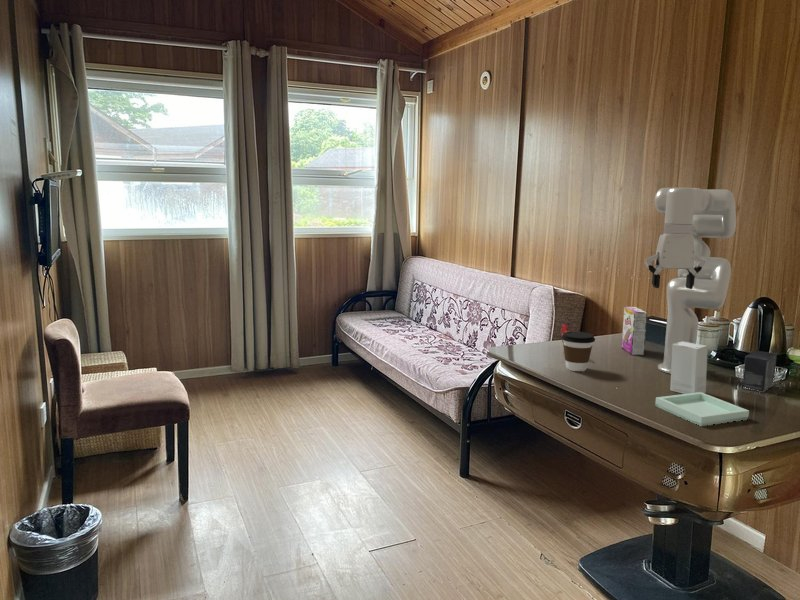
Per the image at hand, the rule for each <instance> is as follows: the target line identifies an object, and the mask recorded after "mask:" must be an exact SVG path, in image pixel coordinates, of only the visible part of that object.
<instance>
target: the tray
mask: <svg viewBox="0 0 800 600" xmlns="http://www.w3.org/2000/svg"><path fill="white" fill-rule="evenodd" d="M654 407H657V408H659V409H660V410H662V411H663V410H664V411H665V412H667V413H669V414H671V415H674V416H676V417H678V418H680V417H681V419H682V420H685V421H687V420H688V422H689V421H690V423H692V424H693V425H696V424H697V426H698V425H699V426H698V427H700V426H701V427H707V425H708V426H713V424H715V425H721V423H722V424H727V422H729V423H733V421H736V422H740V421H741V420H743V421H747V419H748V420H749V415H750V410H748V409H746V408H743V407H741V406H738V405H737V404H733V403H730V402H728V401H725V400H723V399H720V398H717V397H715V396H712V395H709V394H708V393H707V394H706V393H705V394H704V393H702V392H697V393H689V394H682V393H680V394H674V395H667V396H666V395H665V396H657V397H655V404H654Z"/></svg>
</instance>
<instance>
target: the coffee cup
mask: <svg viewBox="0 0 800 600" xmlns="http://www.w3.org/2000/svg"><path fill="white" fill-rule="evenodd" d="M562 339H563V342H564V344H563V342H562V345H563V346H562V348H563V355H564V360H565V367H566V369H567V370H568V369H569V370H568V371H570V370H572V371H571V372H575V371H582V372H585V371H586V370H587V368H588V363H589V362H590V357H591V354H592V349H593V343H595V341H596V338H595V336H594V334H592V333H589V332H584V331H570V332H565V333H563V335H561V340H562Z"/></svg>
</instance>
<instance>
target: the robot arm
mask: <svg viewBox="0 0 800 600" xmlns="http://www.w3.org/2000/svg"><path fill="white" fill-rule="evenodd" d="M734 196H735V195H734V194H733V192H732V191H731V190H729V189H720V188H719V189H713V188H712V189H706V188H700V187H661V188H660V189H658V190H657V192H656V193H655V196H654V207H655V209H656V211H657V212H658V213H664V224H663V233H662V234H659V238H658V242H657V246H656V250H655V254H653V255H650V256H649V257H647V258H645V259H644V263H645V265H646V268H647V269H648V270H649V271H650V273H651V274H652V277H651V278H652V279H651V285H652V286H653V288H654V289H659V288H660V285H661V284H660V283H661V275H660V273H661V272H662V271H663V270H664V269H665V270H666V269H669V270H671V269H672V270H677V277H675V278H672V279H670V280H669V282H668V283H667V285H666V302H667V317H666V329H665V330H666V331H665V338H664V340H665V341H664V351H663V352H664V353H663V362H661V363H659V364H657V369H658V371H661V372H662V373H666V374H670V375H671V362H672V344H675V343H678V342H682V341H684V342H689V343H694V344H698V342H697V340H698V332H699V318H698V317H697V314H696V313H695V311H694V310H693V309H692V308H694V309H695V308H697V309H706V310H719V309H720V308H722V307H723V306H724V304H725V301H726V298H727V294H728V290H729V285H730V281H731V277H732V276H731V274H732V267H731V262H730V261H729V260H728V259H727V258H724V257H716V256H715V257H714V256H711V254H712V253H711V250H710V247H709V246H708V245H707V243H705V241H704V240H703V239H701V238H710V239H711V238H713V239H714V238H715V239H728V238H731V237H732V236H733V235H734V234H735V232H736V228H737V216H736V214H737V213H736V200H735V197H734ZM653 261H654V265H655V267H654V266H653V263H652V262H653Z"/></svg>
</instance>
